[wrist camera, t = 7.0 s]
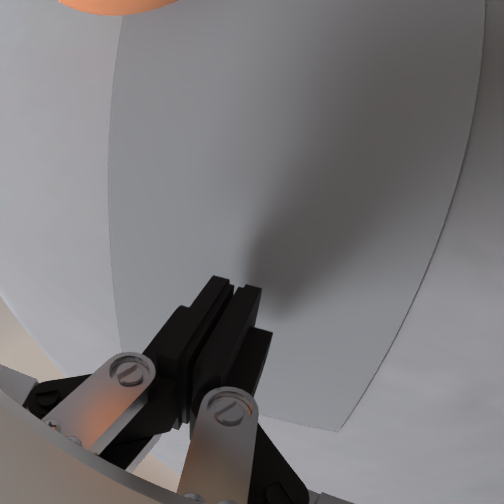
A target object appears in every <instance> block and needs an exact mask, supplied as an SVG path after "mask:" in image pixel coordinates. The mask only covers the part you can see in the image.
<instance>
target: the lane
mask: <svg viewBox="0 0 504 504" xmlns="http://www.w3.org/2000/svg"><path fill="white" fill-rule="evenodd" d="M484 25H485V0H178V1H176V2H174V3H172V4H169V5H166V6H164V7H161V8H157V9H154V10H150V11H147V12H142V13H137V14H130V15H123V20H122V25H121V31H120V37H119V43H118V50H117V57H116V64H115V73H114V81H113V91H112V102H111V115H110V131H109V156H108V211H109V236H110V253H111V266H112V277H113V288H114V297H115V306H116V314H117V321H118V328H119V335H120V342H121V348H122V353H123V352H136V353H140V354H142V353H143V351H144V350H145V349H146V348H147V346H148V345H149V344H150V342H151V341H152V340H153V338H154V337H155V336H156V334H157V333H158V332H159V331H160V329H161V328H162V327H163V325H164V324H165V323H166V322H167V320H168V319H169V318H170V316H171V315H172V314H173V313H174V311H175V310H176V309H177V308H178V307H179V306H180V305H183V306H186V307H190V306H191V304H192V303H193V301H194V300H195V299H196V297H197V296H198V295H199V293H200V292H201V291H202V289H203V288H204V286H205V285H206V284H207V282H208V281H209V280H210V278H211V277H212V276H213V275H215V276H219V277H223V278H226V279H229V280H230V284H232V285H234V293H235V292H236V290H237V288H238V287H243V288H244V286H245V285H246V284H248V285H252V286H256V287H259V288H262V294H261V299H260V304H259V308H258V313H257V318H256V323H255V327H256V328H260V329H263V330H267V331H271V332H273V336H272V340H271V344H270V348H269V352H268V355H267V359H266V362H265V365H264V368H263V372H262V375H261V378H260V380H259V383H258V386H257V389H256V392H255V395H254V399H255V401H256V403H257V405H258V410H259V414H260V415H263V416H267V417H271V418H275V419H279V420H283V421H287V422H291V423H295V424H299V425H304V426H308V427H313V428H318V429H323V430H328V431H333V432H338V431H339V430H340V428H341V427H342V426H343V424H344V423H345V421H346V420H347V418H348V417H349V415H350V413H351V412H352V410H353V409H354V407H355V406H356V404H357V403H358V401H359V399H360V398H361V396H362V395H363V393H364V391H365V390H366V388H367V386H368V385H369V383H370V381H371V380H372V378H373V376H374V374H375V373H376V371H377V369H378V367H379V366H380V364H381V362H382V360H383V359H384V357H385V355H386V353H387V351H388V349H389V347H390V346H391V344H392V342H393V340H394V338H395V336H396V334H397V332H398V330H399V328H400V326H401V324H402V322H403V320H404V318H405V316H406V314H407V312H408V310H409V308H410V305H411V303H412V301H413V299H414V297H415V295H416V292H417V290H418V288H419V286H420V283H421V281H422V279H423V276H424V274H425V271H426V269H427V267H428V264H429V262H430V259H431V257H432V254H433V252H434V249H435V246H436V244H437V241H438V238H439V236H440V233H441V230H442V227H443V224H444V222H445V219H446V216H447V213H448V210H449V207H450V204H451V200H452V197H453V194H454V191H455V187H456V184H457V181H458V177H459V174H460V170H461V166H462V162H463V159H464V155H465V151H466V146H467V142H468V138H469V133H470V129H471V124H472V119H473V114H474V109H475V103H476V97H477V91H478V85H479V78H480V70H481V62H482V52H483V41H484Z"/></svg>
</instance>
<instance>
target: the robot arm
mask: <svg viewBox="0 0 504 504" xmlns="http://www.w3.org/2000/svg"><path fill="white" fill-rule="evenodd" d="M261 294H262V288H259V287H256V286H252V285H248V284H246V285H245V286H244V288H243V287H238V288H237V290H236V292H235V293H234V285H232V284H230V280H229V279H226V278H223V277H219V276H215V275H213V276H212V277H211V278H210V280H209V281H208V282H207V284H206V285H205V286H204V288H203V289H202V291H201V292H200V293H199V295H198V296H197V297H196V299H195V300H194V301H193V303H192V304H191V306H190V307H186V306H183V305H180V306H179V307H178V308H177V309H176V310H175V311H174V313H173V314H172V315H171V316H170V318H169V319H168V320H167V322H166V323H165V324H164V325H163V327H162V328H161V329H160V331H159V332H158V333H157V334H156V336H155V337H154V338H153V340H152V341H151V342H150V344H149V345H148V346H147V348H146V349H145V350H144V351H143V353H142V354H140V353H136V352H123V353H120V354H116V355H115V356H113V357H112V358H110V359H109V360H108V361H107V362H105V363H104V364H103V365H102V366H101V367H100V368H99V369H98V370H96V371H95V372H94V373H93V374H88V375H83V376H77V377H71V378H65V379H58V380H51V381H46V382H42V383H38V381H37V379H35V378H32V377H30V376H27V375H25V374H22V373H20V372H17V371H15V370H12V369H10V368H8V367H5V366H3V365H1V364H0V504H354V503H351V502H348V501H345V500H342V499H339V498H337V497H334V496H331V495H328V494H326V493H323V492H322V493H321V494H318V493H316V492H313V491H311V490H308V489H307V488H306V486H305V484H304V483H303V482H302V481H301V479H300V478H299V477H298V476H297V474H296V473H295V472H294V471H293V469H292V468H291V467H290V465H289V464H288V463H287V461H286V460H285V459H284V457H283V456H282V455H281V454H280V452H279V451H278V450H277V448H276V447H275V445H274V444H273V443H272V441H271V440H270V439H269V437H268V436H267V435H266V433H265V432H264V430H263V429H262V428H261V426H260V425H259V423H258V415H259V410H258V405H257V403H256V401H255V399H254V395H255V392H256V389H257V386H258V383H259V380H260V378H261V375H262V372H263V368H264V365H265V362H266V359H267V355H268V352H269V348H270V344H271V340H272V336H273V332H271V331H267V330H263V329H260V328H256V327H255V323H256V318H257V313H258V308H259V304H260V299H261ZM189 421H190V440H191V442H190V445H189V449H188V453H187V456H186V460H185V464H184V467H183V471H182V475H181V478H180V482H179V486H178V489H177V493H175V492H172V491H170V490H167V489H164V488H162V487H160V486H157V485H155V484H153V483H151V482H148V481H146V480H144V479H142V478H140V477H137V476H135V475H133V474H131V473H132V472H133V471H134V470H135V468H136V467H137V466H138V465H139V463H140V462H141V461H142V460H143V459H144V457H145V456H146V455H147V454H148V453H149V451H150V450H151V449H152V448H153V446H154V445H155V444H156V443H157V442H158V440H159V439H160V437H161V435H162V433H165V432H169V431H170V430H171V428H174V429H177V430H179V428H180V427H181V425H182V423H186V424H188V423H189Z"/></svg>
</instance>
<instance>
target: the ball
mask: <svg viewBox="0 0 504 504" xmlns="http://www.w3.org/2000/svg"><path fill="white" fill-rule="evenodd" d="M58 1H59V2H61V3H63V4H65V5H67V6H69V7H71V8H74V9H77V10H80V11H83V12H87V13H91V14H98V15H130V14H137V13H142V12H147V11H150V10H154V9H157V8H161V7H164V6H166V5H169V4H172V3H174V2H176V1H178V0H58Z"/></svg>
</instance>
